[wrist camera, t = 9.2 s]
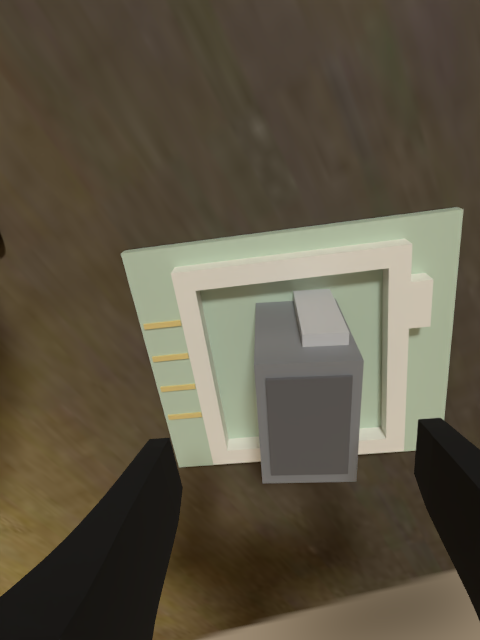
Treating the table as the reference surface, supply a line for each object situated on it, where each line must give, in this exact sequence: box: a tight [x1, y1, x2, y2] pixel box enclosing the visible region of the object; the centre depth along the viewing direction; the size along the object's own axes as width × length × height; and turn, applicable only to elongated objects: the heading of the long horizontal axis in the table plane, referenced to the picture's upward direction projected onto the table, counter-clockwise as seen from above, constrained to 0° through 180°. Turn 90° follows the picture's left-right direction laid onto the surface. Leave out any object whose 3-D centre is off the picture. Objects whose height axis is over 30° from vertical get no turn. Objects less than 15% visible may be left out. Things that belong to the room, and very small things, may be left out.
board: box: [121, 207, 463, 467], centre depth 21 cm, size 16×14×2 cm
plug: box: [254, 289, 364, 483], centre depth 18 cm, size 4×7×6 cm, turn 4°
